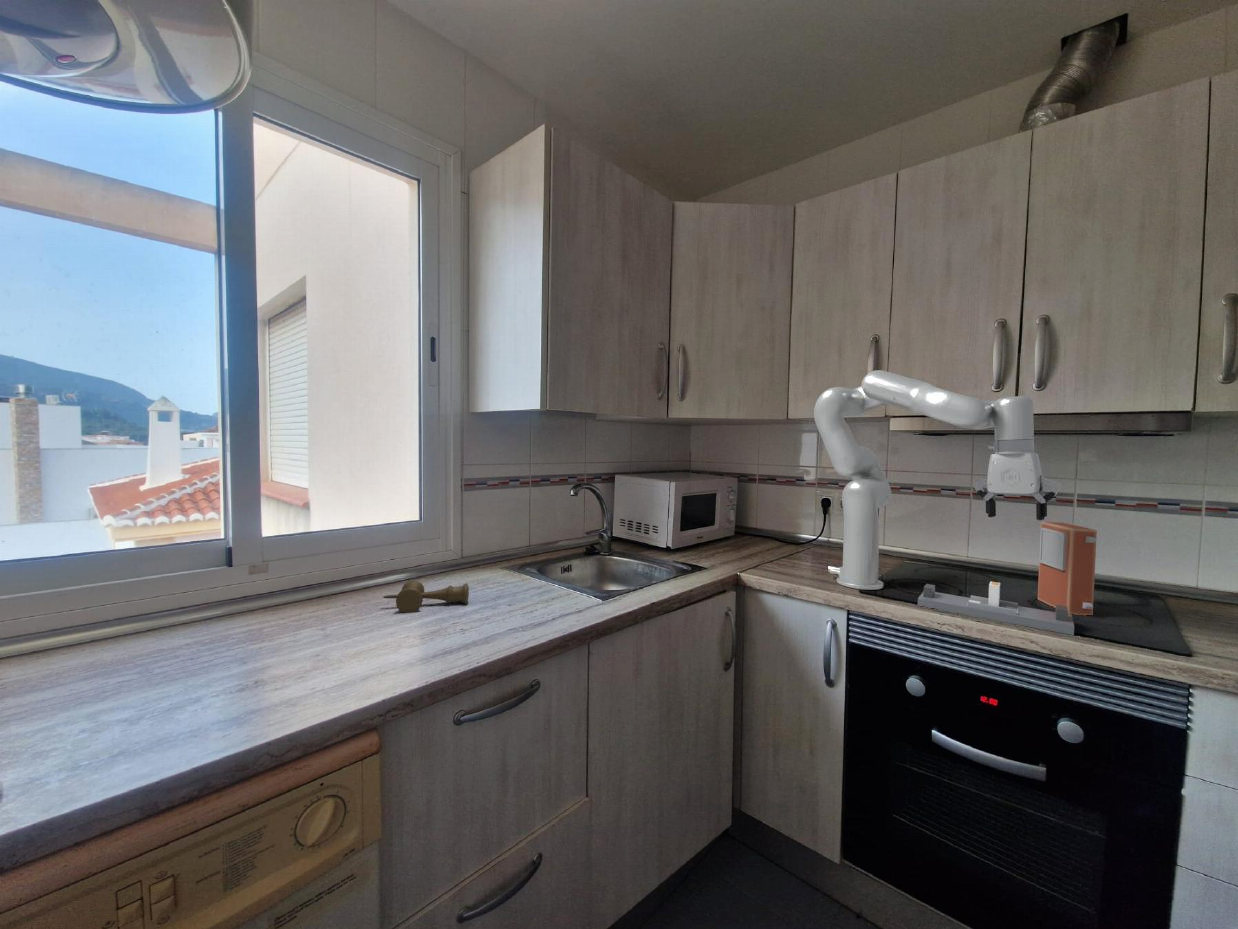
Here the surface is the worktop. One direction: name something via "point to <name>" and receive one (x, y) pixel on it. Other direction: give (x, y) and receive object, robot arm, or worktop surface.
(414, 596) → the kendama
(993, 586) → the breaker handle
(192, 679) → the worktop surface
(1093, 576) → the orange rectangular block
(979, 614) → the strip
